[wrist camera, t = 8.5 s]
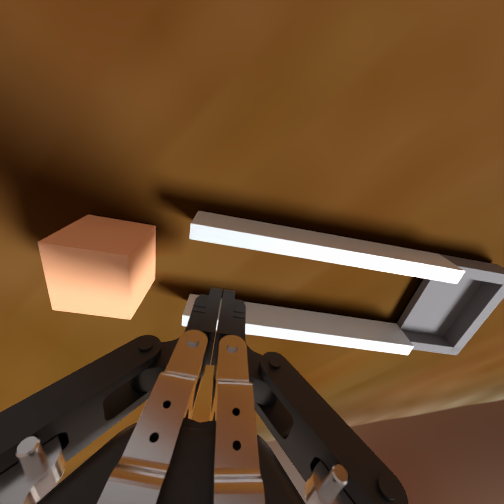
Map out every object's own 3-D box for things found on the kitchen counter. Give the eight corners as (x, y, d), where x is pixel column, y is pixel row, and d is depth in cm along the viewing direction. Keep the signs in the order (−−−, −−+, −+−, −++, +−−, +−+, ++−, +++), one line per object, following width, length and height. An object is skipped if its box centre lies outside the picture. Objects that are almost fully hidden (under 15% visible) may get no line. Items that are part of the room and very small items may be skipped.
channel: (438, 253, 18) (465, 271, 16) (391, 332, 22) (408, 355, 20) (198, 210, 16) (190, 223, 14) (188, 303, 20) (181, 325, 18)
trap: (496, 264, 19) (520, 277, 17) (441, 338, 22) (456, 355, 21) (438, 253, 18) (457, 265, 17) (391, 332, 22) (402, 348, 20)
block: (155, 225, 17) (128, 255, 13) (155, 279, 19) (130, 319, 15) (88, 214, 17) (37, 242, 13) (94, 270, 19) (52, 309, 15)
